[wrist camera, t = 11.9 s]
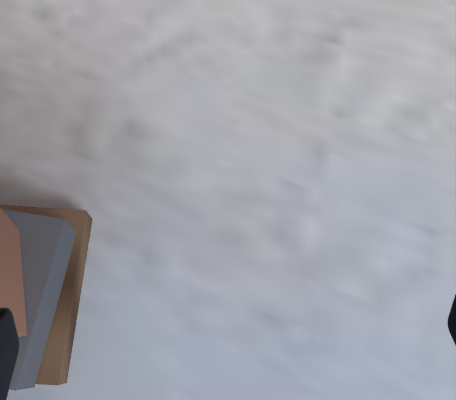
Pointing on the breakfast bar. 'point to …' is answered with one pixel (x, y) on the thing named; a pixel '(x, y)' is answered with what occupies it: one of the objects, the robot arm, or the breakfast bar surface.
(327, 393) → the breakfast bar surface
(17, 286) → the pillar
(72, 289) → the tower base
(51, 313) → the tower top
